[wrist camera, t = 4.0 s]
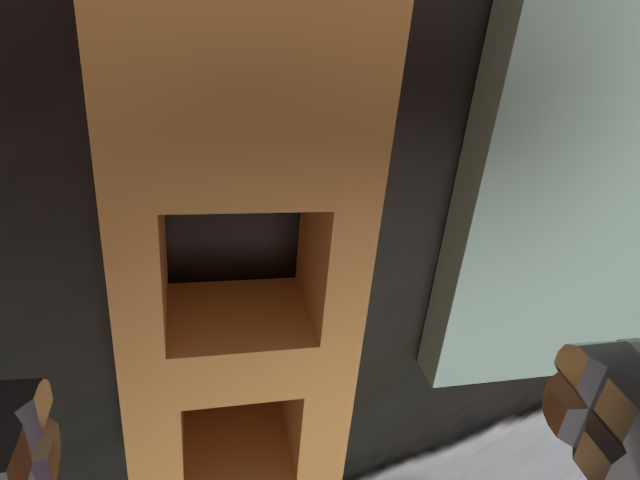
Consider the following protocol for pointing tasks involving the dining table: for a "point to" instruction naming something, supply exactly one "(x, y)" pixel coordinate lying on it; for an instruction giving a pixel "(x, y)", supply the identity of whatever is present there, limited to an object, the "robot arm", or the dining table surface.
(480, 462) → the dining table surface
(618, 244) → the base board
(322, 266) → the orange two-slot tray
